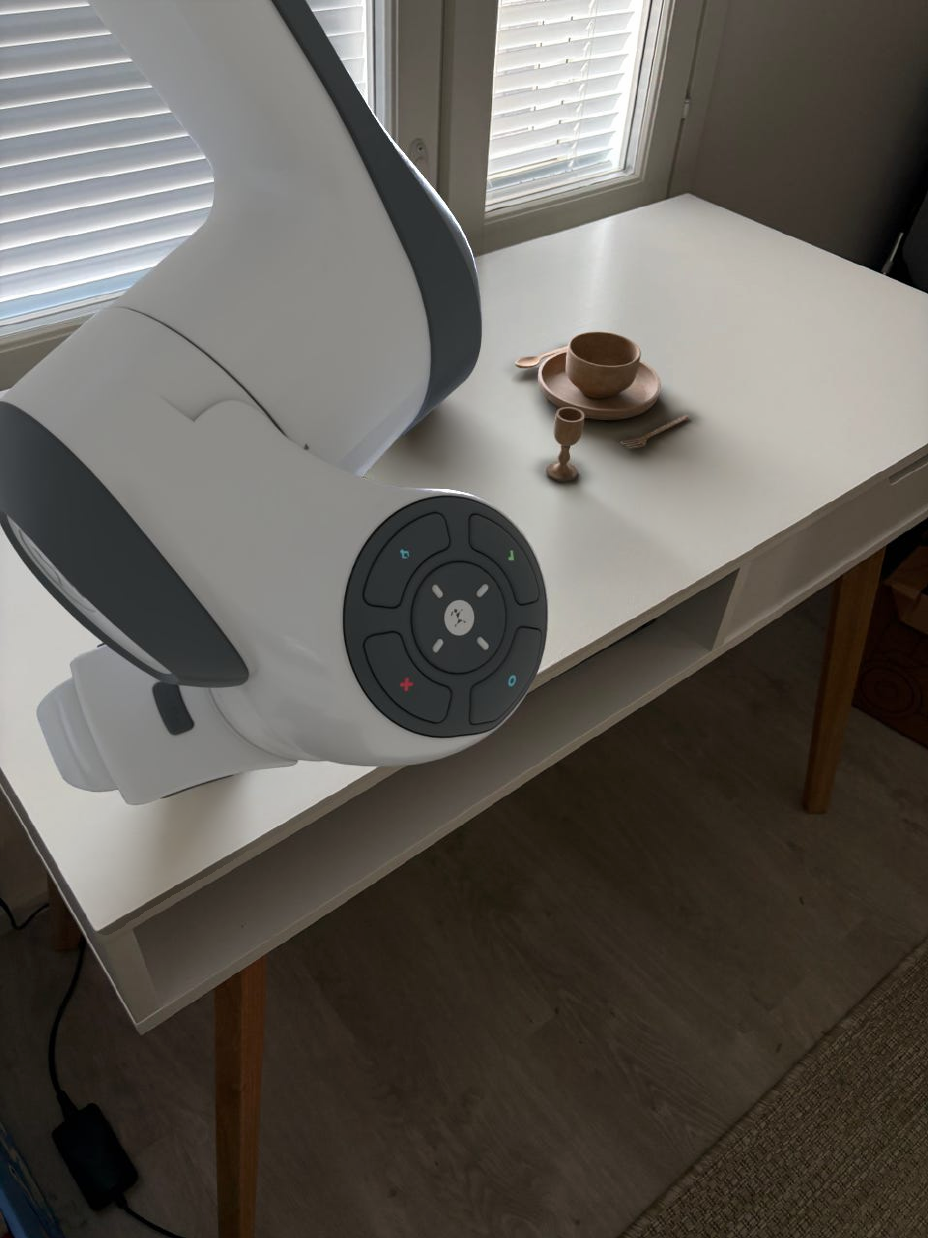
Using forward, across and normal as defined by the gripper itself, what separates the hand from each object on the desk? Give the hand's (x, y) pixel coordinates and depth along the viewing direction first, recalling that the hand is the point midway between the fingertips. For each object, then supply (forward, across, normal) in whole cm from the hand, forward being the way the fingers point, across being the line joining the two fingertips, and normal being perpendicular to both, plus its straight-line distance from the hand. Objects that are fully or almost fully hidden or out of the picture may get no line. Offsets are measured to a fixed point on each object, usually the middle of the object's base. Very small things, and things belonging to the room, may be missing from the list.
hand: (228, 671), depth 55 cm
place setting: (+25, -45, -10) cm, 53 cm away
